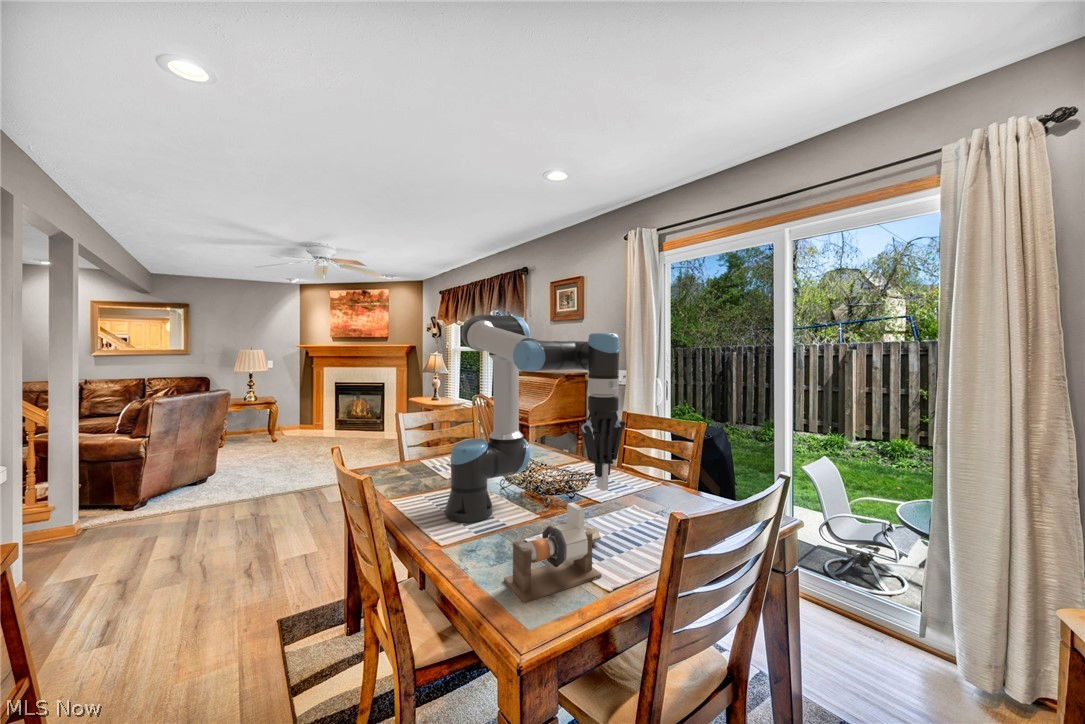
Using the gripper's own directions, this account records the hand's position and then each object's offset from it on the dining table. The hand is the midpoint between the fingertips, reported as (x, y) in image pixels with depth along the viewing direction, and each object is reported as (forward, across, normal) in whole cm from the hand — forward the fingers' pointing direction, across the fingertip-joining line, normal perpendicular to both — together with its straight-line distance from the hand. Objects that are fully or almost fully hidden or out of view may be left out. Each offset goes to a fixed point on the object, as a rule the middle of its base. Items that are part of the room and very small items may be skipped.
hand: (602, 488), depth 110 cm
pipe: (+14, -14, 0) cm, 20 cm away
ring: (+16, -14, 0) cm, 21 cm away
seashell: (+20, +3, +14) cm, 24 cm away
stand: (+20, -14, 0) cm, 24 cm away
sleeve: (+16, -10, 0) cm, 18 cm away
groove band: (+14, -18, 0) cm, 23 cm away
